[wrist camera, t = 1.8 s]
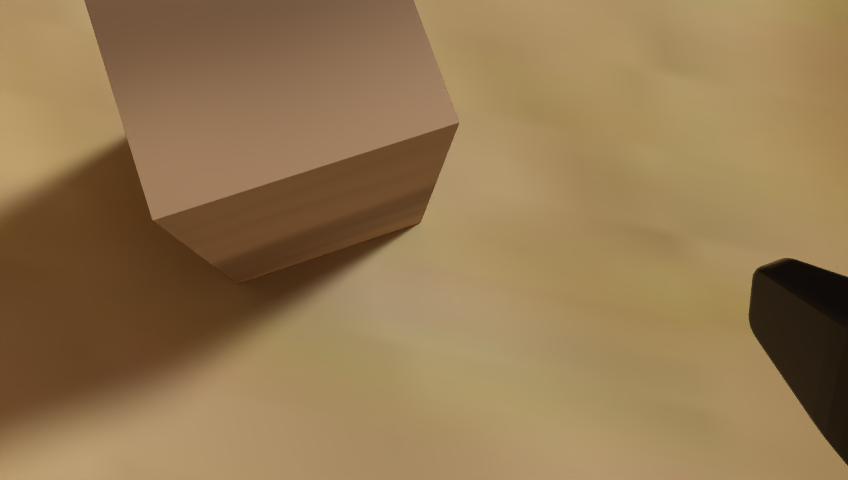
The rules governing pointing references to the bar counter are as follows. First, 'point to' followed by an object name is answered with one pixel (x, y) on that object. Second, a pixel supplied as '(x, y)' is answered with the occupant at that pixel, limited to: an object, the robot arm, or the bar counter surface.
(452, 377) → the bar counter surface
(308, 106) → the walnut block
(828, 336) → the robot arm
